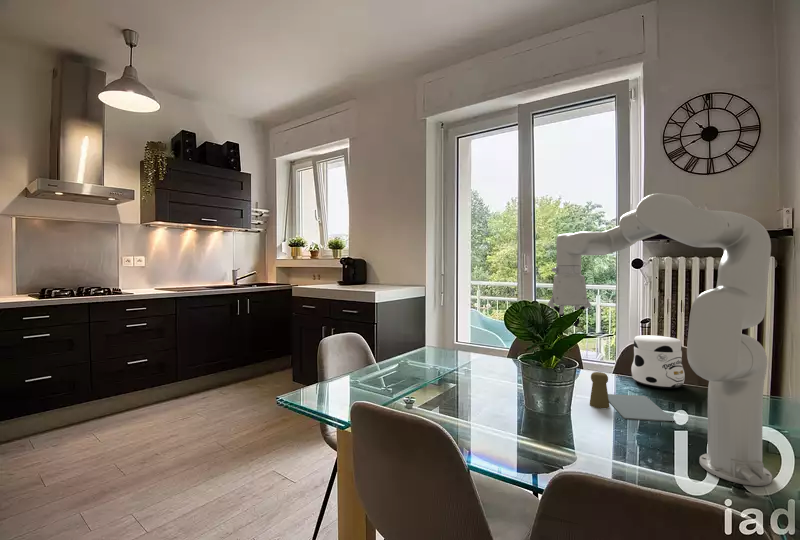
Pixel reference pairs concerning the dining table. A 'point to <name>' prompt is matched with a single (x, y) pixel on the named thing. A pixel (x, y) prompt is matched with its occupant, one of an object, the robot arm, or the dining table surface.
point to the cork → (599, 390)
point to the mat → (637, 408)
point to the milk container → (658, 361)
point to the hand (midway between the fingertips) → (569, 325)
